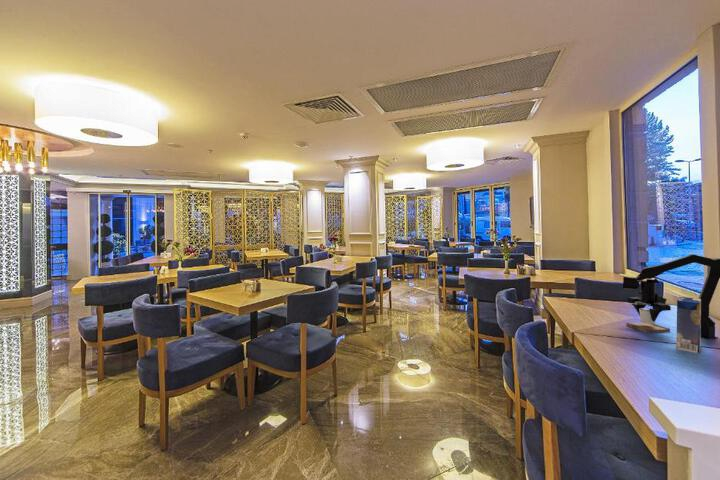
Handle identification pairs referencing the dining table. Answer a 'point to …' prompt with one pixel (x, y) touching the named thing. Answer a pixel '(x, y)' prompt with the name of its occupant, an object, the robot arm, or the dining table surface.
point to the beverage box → (688, 324)
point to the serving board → (648, 327)
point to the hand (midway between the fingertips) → (647, 319)
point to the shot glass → (645, 316)
